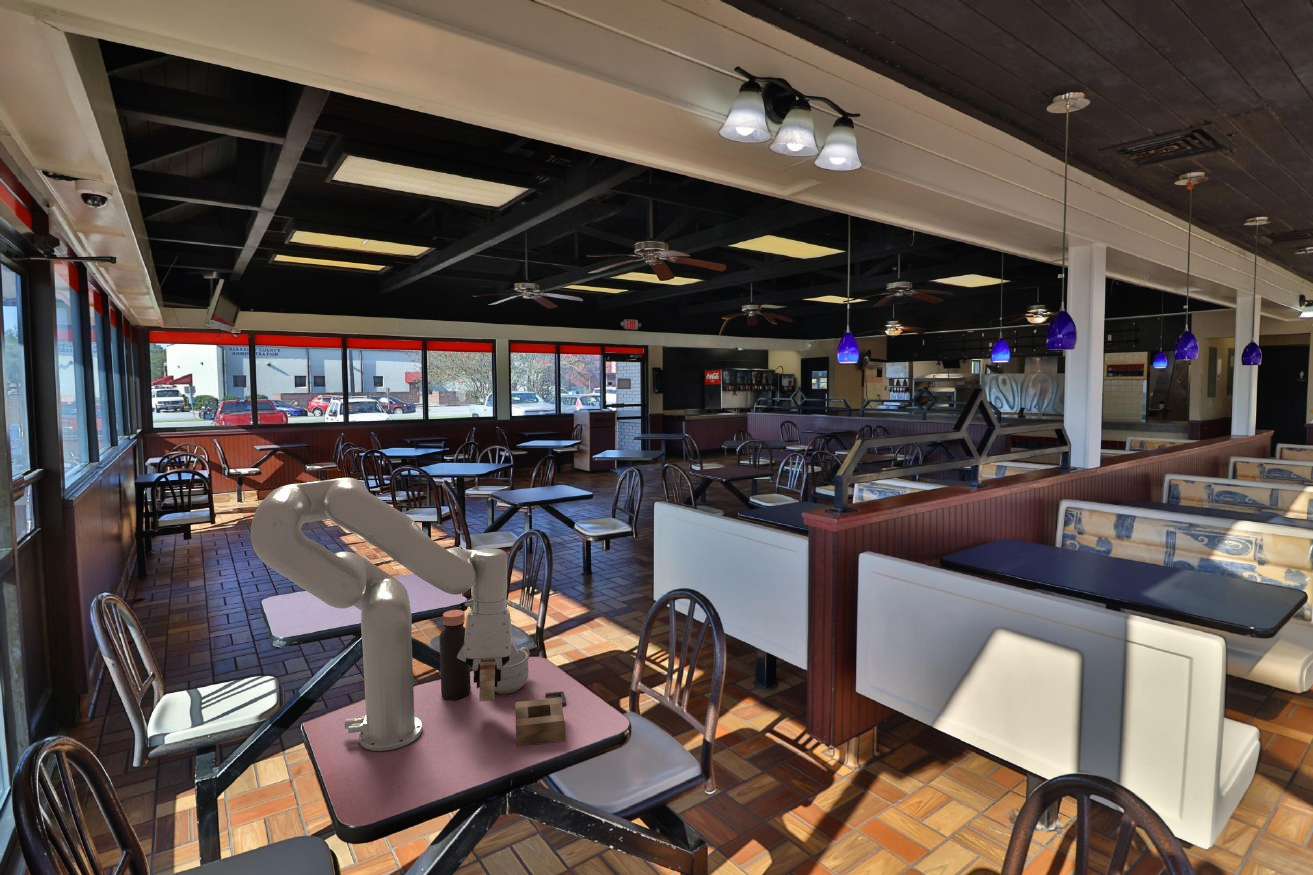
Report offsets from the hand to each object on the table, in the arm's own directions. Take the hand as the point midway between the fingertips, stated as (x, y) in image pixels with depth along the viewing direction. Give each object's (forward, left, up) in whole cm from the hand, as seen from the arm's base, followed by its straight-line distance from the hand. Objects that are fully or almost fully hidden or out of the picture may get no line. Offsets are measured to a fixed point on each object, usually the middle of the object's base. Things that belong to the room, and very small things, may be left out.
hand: (487, 683), depth 148 cm
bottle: (-8, +12, -8) cm, 16 cm away
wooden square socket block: (+11, -9, -8) cm, 16 cm away
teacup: (+5, +14, -8) cm, 17 cm away
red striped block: (0, 0, -3) cm, 3 cm away
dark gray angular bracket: (+13, +4, -8) cm, 16 cm away
